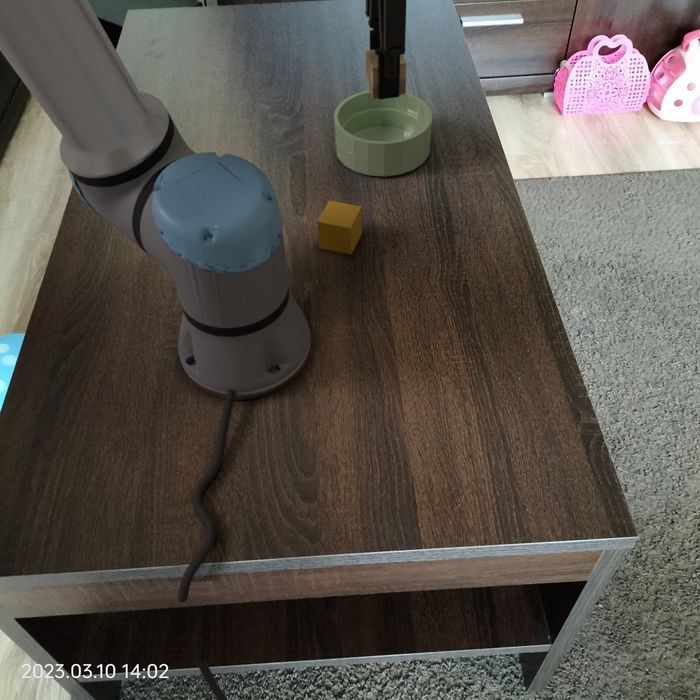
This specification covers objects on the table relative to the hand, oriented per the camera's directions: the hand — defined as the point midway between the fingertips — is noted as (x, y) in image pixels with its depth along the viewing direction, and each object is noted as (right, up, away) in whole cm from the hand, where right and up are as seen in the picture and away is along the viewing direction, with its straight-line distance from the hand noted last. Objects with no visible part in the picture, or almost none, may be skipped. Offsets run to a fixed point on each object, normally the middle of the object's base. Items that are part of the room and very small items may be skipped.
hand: (384, 86), depth 98 cm
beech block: (0, 0, 0) cm, 0 cm away
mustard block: (-6, -21, -1) cm, 22 cm away
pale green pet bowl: (0, -5, +12) cm, 13 cm away
